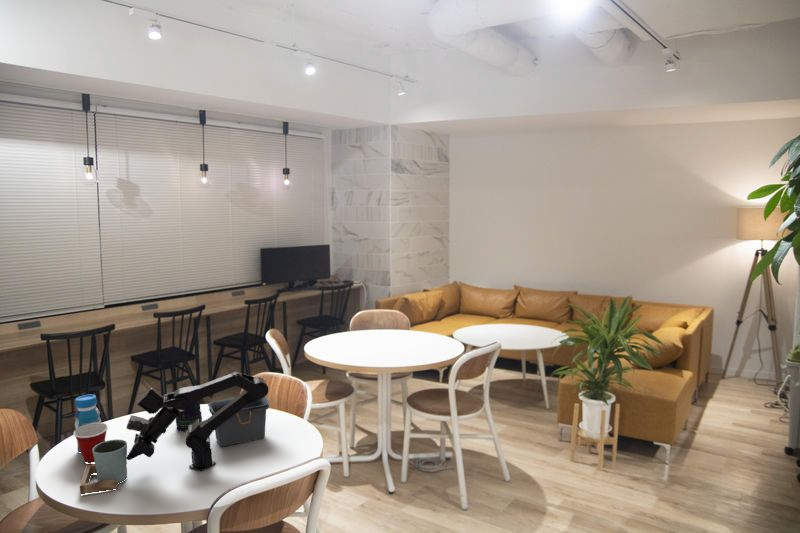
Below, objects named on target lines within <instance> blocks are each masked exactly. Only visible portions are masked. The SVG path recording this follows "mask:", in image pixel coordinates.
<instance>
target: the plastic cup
mask: <svg viewBox="0 0 800 533" xmlns="http://www.w3.org/2000/svg"><path fill="white" fill-rule="evenodd" d="M108 429H109V425H108V424H107V423H105V422H101V423H90V424H86V425H83V426H81V427H79V428H77V429H76V428H75V429H74V430H73V436H74V438H76V441H78V444H79V447H80V450H81V454H80V455H82V459H83V462H84V463H85V462H88V463H91V462H95V461H94V456H93V450H92V449H93V448H94V447H95V446H96V445H97V444H99V443H102V442H105V441H106V436H107V432H108V431H107V430H108ZM78 444H77V445H78Z"/></svg>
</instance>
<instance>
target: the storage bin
mask: <svg viewBox="0 0 800 533" xmlns="http://www.w3.org/2000/svg"><path fill="white" fill-rule="evenodd" d="M235 398H236V397H233V398H227V399H222V400H221V399H220V400H215V401H211V402H208V404H207V406H208V411H209V412H210V414H211V416H212V415H214V414H215V413H216V412H218V411H219V410H220V409H221V408H223V407H224V406H225V405H227V404H228V403H229V402H231V401H232V400H233V399H235ZM270 403H271V401H270V400H269V399H268V398H267V397H266V396H265V397H264V398H262V399H260V400H258V401H257V402H254V403H251V404H248V405H246V406H245V407H244V408H242V409H241V410H240V411H239V412H237V413H236V414H235V415H233V416H232V417H231V418H230V419H228V420H227V421H226V422H224V423H223V424H222V425H220V426H219V427H218V428H217V429H215V430H214V432H215V439H216V440H217V443H218V444H219V446H220V447H227V446H231V445H236V444H243V443H247V442H251V441H257V439H258V440H261V439H262V440H263V439H264V438H265V436H266V420H267V410H268V409H269V408H270Z"/></svg>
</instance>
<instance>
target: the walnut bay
mask: <svg viewBox="0 0 800 533" xmlns="http://www.w3.org/2000/svg"><path fill="white" fill-rule="evenodd" d="M93 473H97V471H96V464H90V465H89V464H86V467H85V470H84V473H83V476H82V477H81V481H80V483H79V492H80V494H85V493H92V492H99V491H106V490H113V489H118V485H117V484H116V479H111V480H105V481H99V482H98V481H94V482H89V479H90V476H91V474H93ZM91 477H92V476H91ZM90 480H91V479H90ZM88 482H89V483H88Z"/></svg>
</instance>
